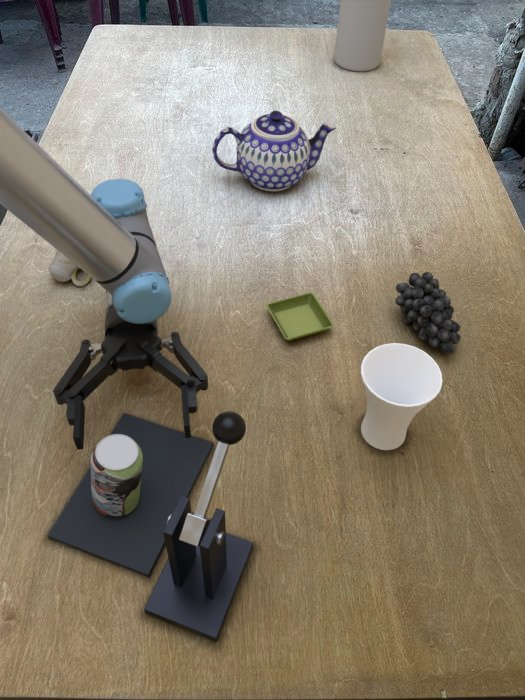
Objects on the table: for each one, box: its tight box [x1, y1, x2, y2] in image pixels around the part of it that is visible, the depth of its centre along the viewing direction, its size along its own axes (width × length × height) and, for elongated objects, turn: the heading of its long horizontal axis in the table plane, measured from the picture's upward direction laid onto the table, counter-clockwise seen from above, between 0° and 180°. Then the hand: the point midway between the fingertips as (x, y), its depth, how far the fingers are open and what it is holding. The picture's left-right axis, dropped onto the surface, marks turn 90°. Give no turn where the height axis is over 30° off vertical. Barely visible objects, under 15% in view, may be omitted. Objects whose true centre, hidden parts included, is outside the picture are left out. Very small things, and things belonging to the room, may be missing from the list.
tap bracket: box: [143, 495, 254, 643], centre depth 70 cm, size 12×9×16 cm
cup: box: [360, 342, 443, 451], centre depth 85 cm, size 10×10×14 cm
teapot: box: [211, 110, 337, 192], centre depth 126 cm, size 25×15×15 cm, turn 98°
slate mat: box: [46, 412, 214, 578], centre depth 83 cm, size 14×20×1 cm
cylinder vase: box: [333, 0, 392, 72], centre depth 158 cm, size 12×12×25 cm
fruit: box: [394, 271, 461, 356], centre depth 101 cm, size 9×8×15 cm
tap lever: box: [179, 410, 247, 547], centre depth 66 cm, size 14×4×4 cm, turn 160°
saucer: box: [265, 291, 335, 342], centre depth 103 cm, size 9×9×2 cm
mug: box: [48, 249, 92, 287], centre depth 109 cm, size 8×10×10 cm
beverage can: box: [90, 434, 143, 518], centre depth 77 cm, size 6×7×12 cm
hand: (133, 438), depth 79 cm, fingers open, 13 cm apart
